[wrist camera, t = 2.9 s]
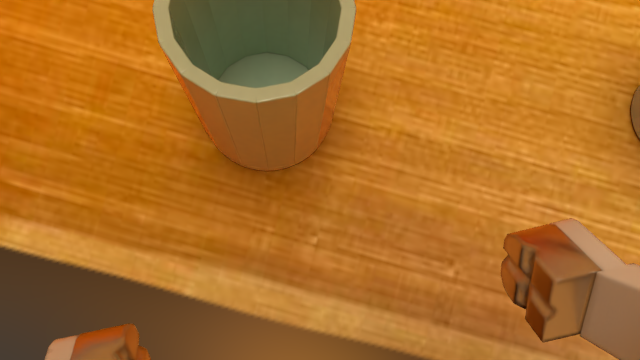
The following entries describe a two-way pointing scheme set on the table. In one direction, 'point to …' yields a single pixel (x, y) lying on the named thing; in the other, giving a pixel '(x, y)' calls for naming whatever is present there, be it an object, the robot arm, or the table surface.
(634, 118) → the cup
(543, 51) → the table surface
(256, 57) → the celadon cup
